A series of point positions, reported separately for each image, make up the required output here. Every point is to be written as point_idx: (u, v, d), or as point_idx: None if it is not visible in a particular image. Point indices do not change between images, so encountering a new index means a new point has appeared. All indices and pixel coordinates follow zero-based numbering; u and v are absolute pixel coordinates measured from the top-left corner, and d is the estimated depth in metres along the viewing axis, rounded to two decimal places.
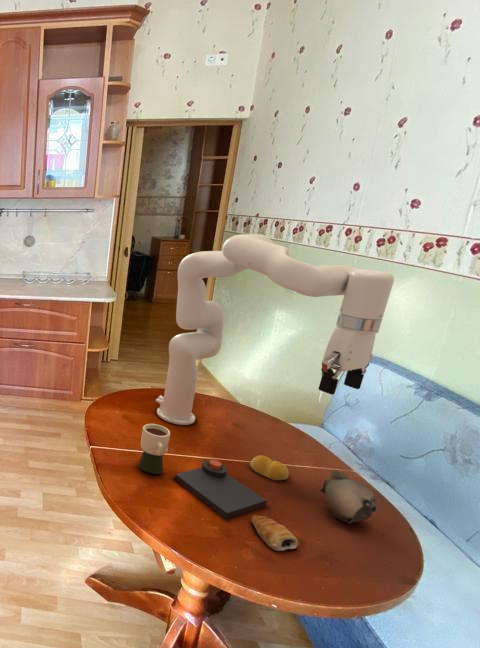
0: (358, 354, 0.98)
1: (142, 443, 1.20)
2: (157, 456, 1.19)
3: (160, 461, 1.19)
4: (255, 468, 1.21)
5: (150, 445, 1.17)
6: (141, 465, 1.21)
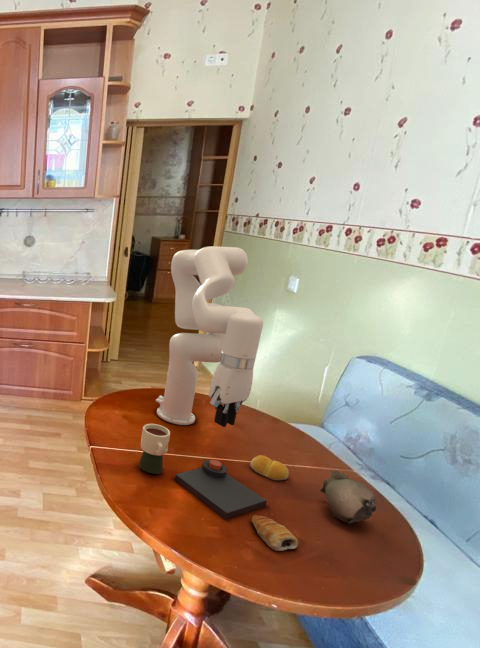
0: (236, 389, 1.09)
1: (142, 443, 1.20)
2: (157, 456, 1.19)
3: (160, 461, 1.19)
4: (255, 468, 1.21)
5: (150, 445, 1.17)
6: (141, 465, 1.21)
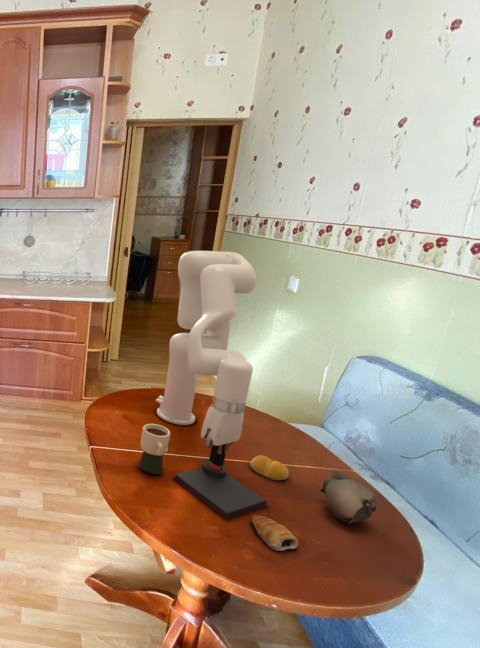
0: (227, 431, 1.12)
1: (142, 443, 1.20)
2: (157, 456, 1.19)
3: (160, 461, 1.19)
4: (255, 468, 1.21)
5: (150, 445, 1.17)
6: (141, 465, 1.21)
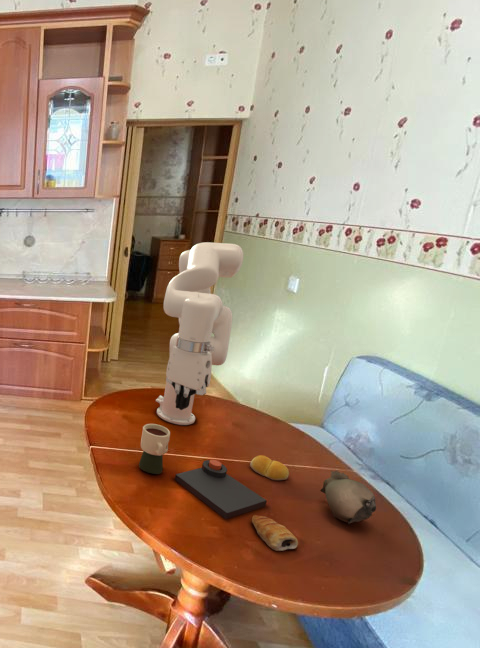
0: (178, 368, 1.12)
1: (142, 443, 1.20)
2: (157, 456, 1.19)
3: (160, 461, 1.19)
4: (255, 468, 1.21)
5: (150, 445, 1.17)
6: (141, 465, 1.21)
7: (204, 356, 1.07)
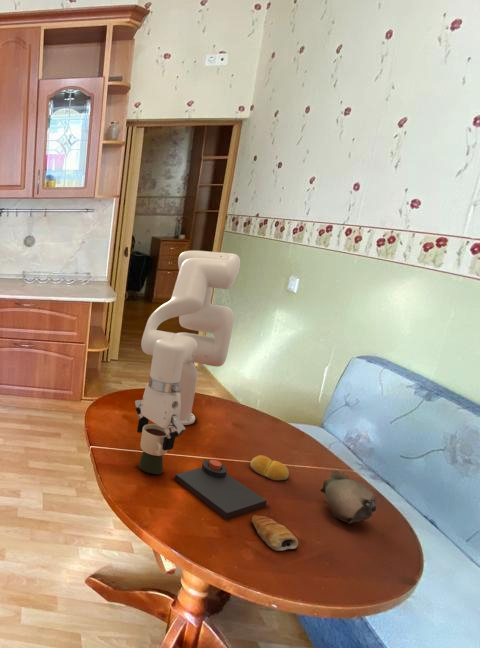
0: (149, 406, 1.17)
1: (141, 443, 1.20)
2: (157, 456, 1.19)
3: (160, 461, 1.19)
4: (255, 468, 1.21)
5: (150, 446, 1.17)
6: (141, 465, 1.21)
7: (170, 396, 1.11)
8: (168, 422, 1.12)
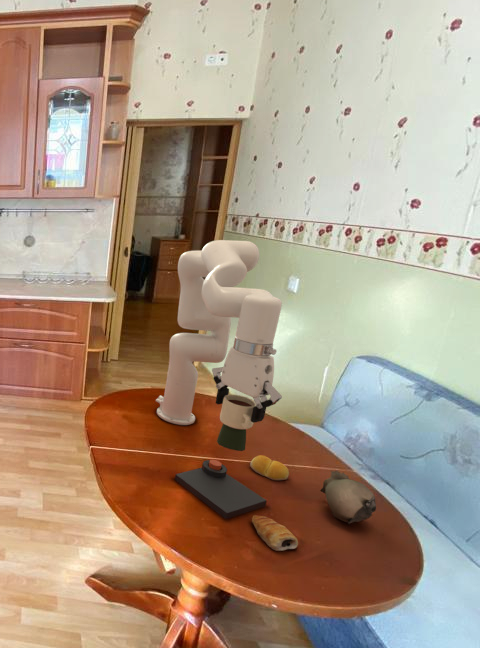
0: (233, 372, 1.02)
1: (222, 416, 1.06)
2: (241, 430, 1.04)
3: (244, 436, 1.04)
4: (255, 468, 1.21)
5: (234, 418, 1.03)
6: (220, 441, 1.07)
7: (263, 360, 0.96)
8: (260, 390, 0.97)
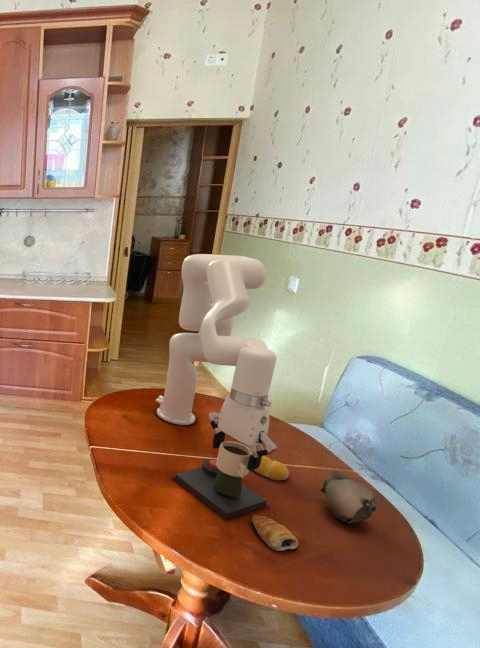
0: (230, 420, 1.05)
1: (219, 462, 1.08)
2: (237, 477, 1.07)
3: (240, 483, 1.07)
4: None
5: (230, 466, 1.06)
6: (217, 487, 1.10)
7: (259, 411, 0.99)
8: (255, 439, 1.00)
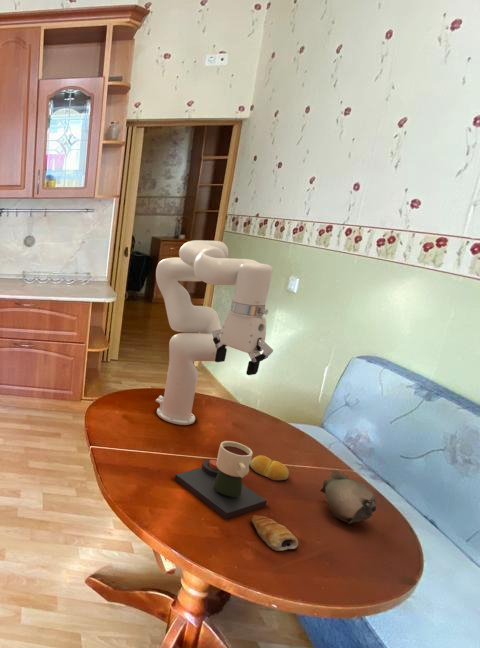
0: (231, 332, 1.16)
1: (219, 462, 1.08)
2: (237, 477, 1.07)
3: (240, 483, 1.07)
4: (255, 468, 1.21)
5: (230, 466, 1.06)
6: (217, 487, 1.10)
7: (257, 319, 1.10)
8: (254, 345, 1.11)
